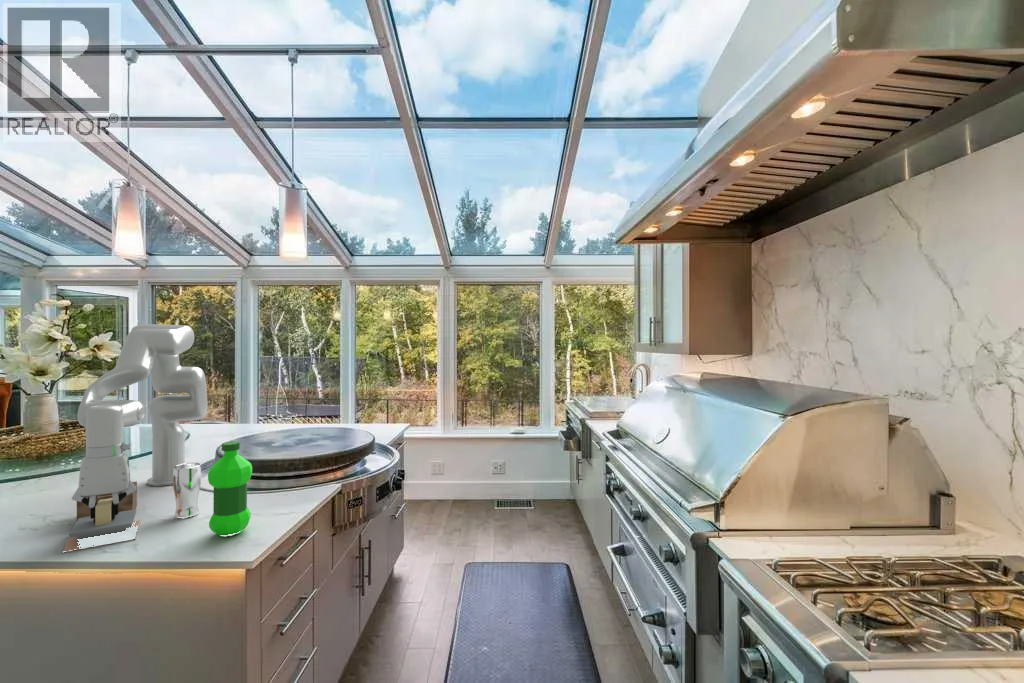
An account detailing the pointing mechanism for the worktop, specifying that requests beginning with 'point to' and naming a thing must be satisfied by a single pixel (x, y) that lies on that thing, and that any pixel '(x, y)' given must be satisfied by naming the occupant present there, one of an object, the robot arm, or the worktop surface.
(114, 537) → the worktop surface
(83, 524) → the lid
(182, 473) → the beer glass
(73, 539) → the terracotta mat
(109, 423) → the robot arm
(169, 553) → the worktop surface
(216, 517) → the plastic bottle
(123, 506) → the walnut box
